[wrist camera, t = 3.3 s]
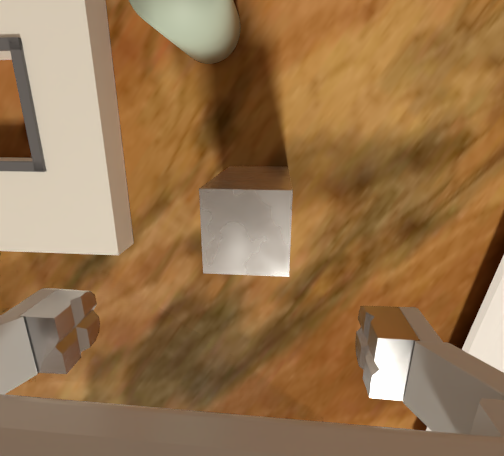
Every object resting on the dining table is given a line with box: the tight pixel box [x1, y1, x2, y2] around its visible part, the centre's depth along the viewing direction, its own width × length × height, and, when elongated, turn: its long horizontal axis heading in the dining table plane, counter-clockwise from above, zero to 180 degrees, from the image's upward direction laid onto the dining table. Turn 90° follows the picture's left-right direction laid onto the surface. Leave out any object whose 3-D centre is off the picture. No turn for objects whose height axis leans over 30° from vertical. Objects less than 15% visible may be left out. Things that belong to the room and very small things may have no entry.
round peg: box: [129, 0, 241, 64], centre depth 20 cm, size 5×5×9 cm
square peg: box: [199, 166, 293, 277], centre depth 23 cm, size 5×5×11 cm
